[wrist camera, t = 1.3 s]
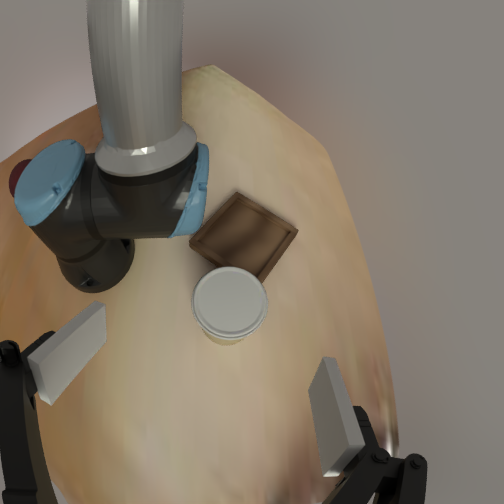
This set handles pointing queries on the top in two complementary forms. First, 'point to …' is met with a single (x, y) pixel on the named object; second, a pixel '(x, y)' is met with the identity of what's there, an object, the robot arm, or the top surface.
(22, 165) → the decorative ball
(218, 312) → the coffee cup
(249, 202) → the coaster tray
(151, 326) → the top surface
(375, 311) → the top surface
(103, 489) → the top surface
